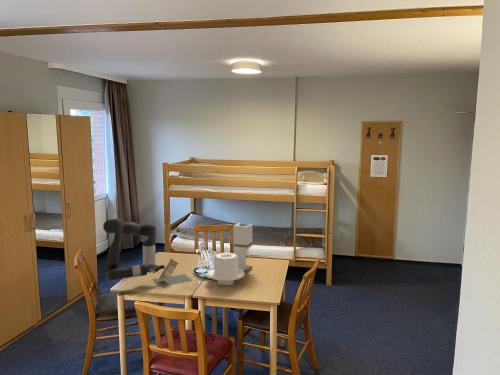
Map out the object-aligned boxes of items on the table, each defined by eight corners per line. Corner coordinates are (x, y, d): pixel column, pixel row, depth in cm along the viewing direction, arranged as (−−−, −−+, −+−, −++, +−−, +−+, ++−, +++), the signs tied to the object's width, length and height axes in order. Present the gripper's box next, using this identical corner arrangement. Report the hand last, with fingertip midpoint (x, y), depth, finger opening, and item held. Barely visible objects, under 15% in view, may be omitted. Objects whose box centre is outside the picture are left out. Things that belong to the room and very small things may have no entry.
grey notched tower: (246, 273, 292) (247, 226, 288) (233, 271, 296) (233, 225, 291) (252, 268, 302) (252, 223, 298) (239, 267, 306) (239, 222, 302)
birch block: (159, 277, 273) (171, 258, 276) (164, 280, 276) (176, 261, 278) (161, 279, 270) (173, 260, 272) (166, 282, 272) (178, 263, 274)
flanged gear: (245, 276, 285) (245, 250, 283) (242, 289, 261) (242, 261, 258) (211, 275, 287) (210, 250, 285) (205, 288, 262) (204, 260, 260)
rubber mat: (152, 280, 277) (152, 279, 277) (184, 274, 289) (184, 273, 288) (158, 287, 263) (158, 286, 263) (192, 281, 275) (192, 280, 275)
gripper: (140, 267, 258) (167, 264, 266) (136, 262, 269) (161, 258, 277) (141, 279, 258) (167, 274, 267) (136, 273, 270) (161, 269, 278)
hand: (164, 266), depth 272 cm, fingers closed
